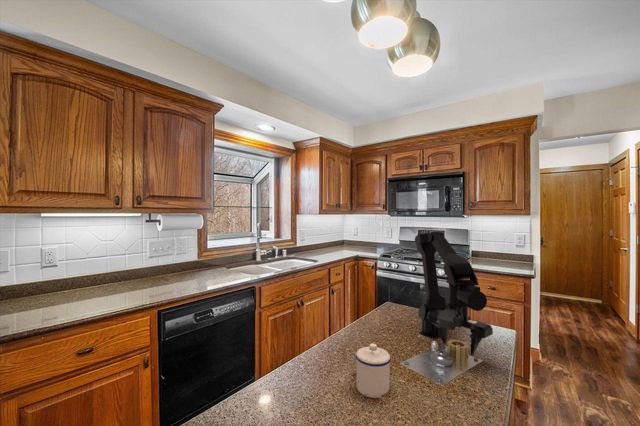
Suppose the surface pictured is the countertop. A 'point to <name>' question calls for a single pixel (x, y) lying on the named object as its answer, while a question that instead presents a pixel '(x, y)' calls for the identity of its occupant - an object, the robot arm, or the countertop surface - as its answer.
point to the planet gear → (458, 350)
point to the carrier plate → (436, 370)
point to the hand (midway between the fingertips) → (457, 348)
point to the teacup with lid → (372, 371)
